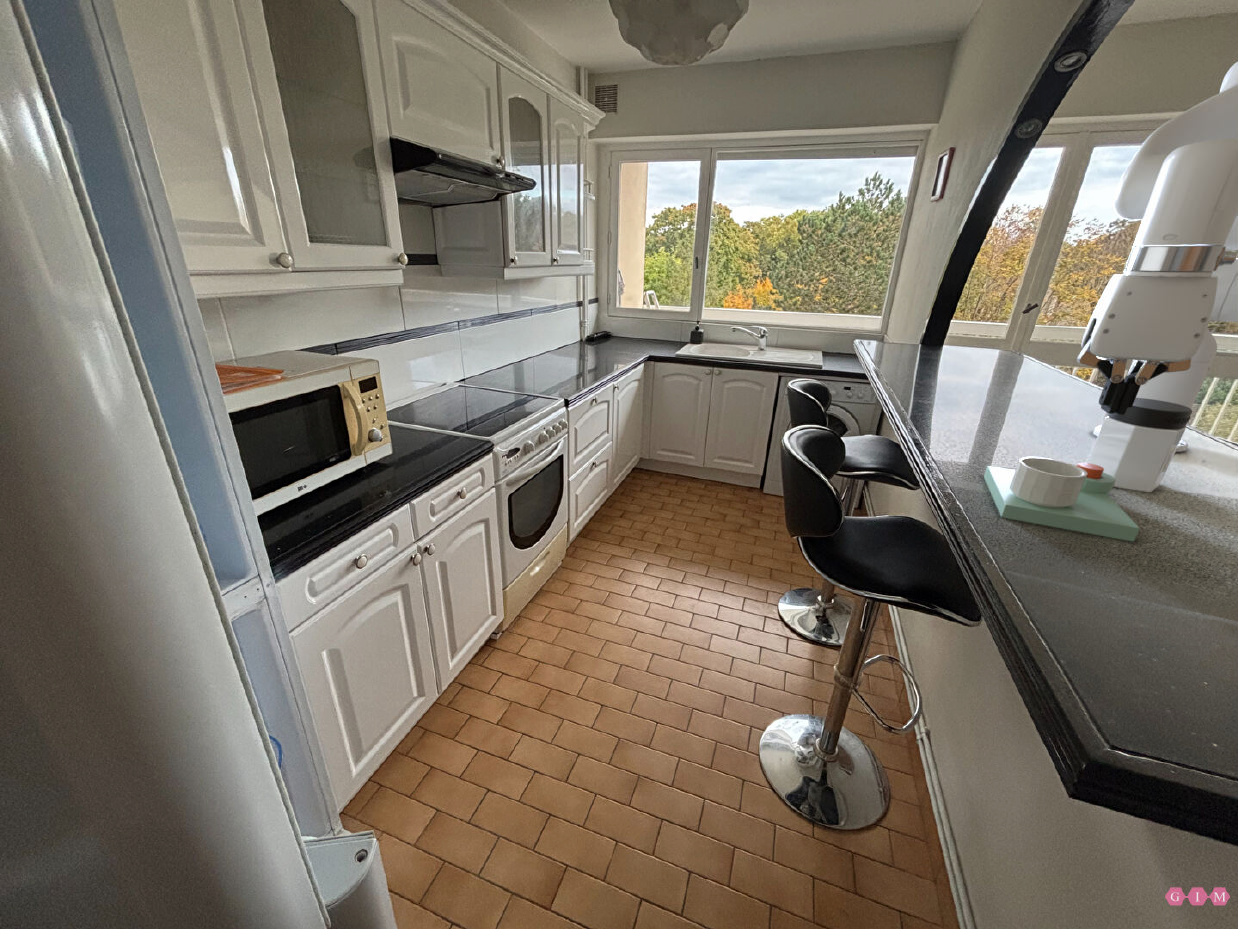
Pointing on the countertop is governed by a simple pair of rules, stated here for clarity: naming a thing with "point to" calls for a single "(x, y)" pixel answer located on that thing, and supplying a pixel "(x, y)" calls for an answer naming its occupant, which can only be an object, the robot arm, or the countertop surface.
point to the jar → (1140, 443)
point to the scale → (1087, 515)
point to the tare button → (1092, 470)
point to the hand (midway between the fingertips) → (1112, 411)
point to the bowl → (1047, 482)
